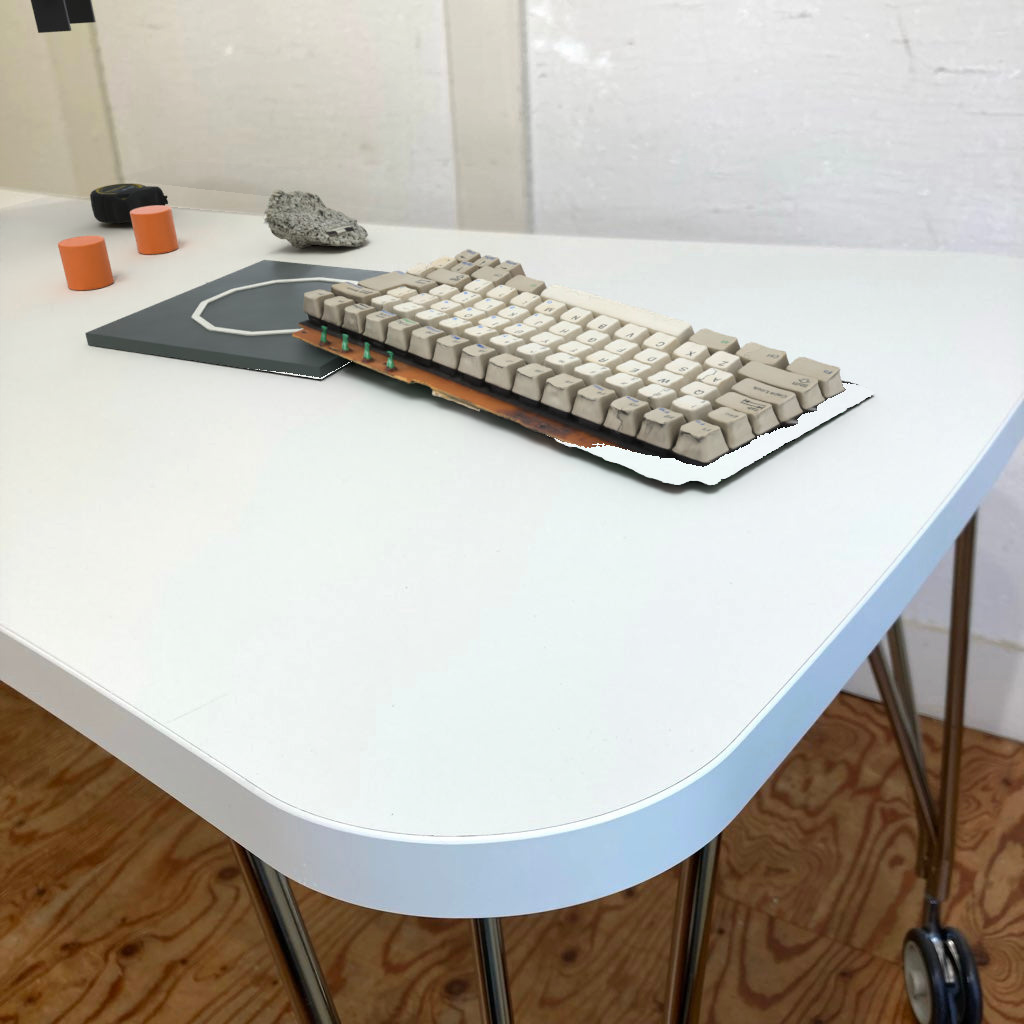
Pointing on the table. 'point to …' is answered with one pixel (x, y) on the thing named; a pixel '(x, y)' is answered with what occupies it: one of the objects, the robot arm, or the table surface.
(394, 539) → the table surface
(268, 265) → the slate board
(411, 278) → the mechanical keyboard
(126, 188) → the tape measure
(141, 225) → the short orange drum
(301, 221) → the rock sample
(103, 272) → the orange cylinder
